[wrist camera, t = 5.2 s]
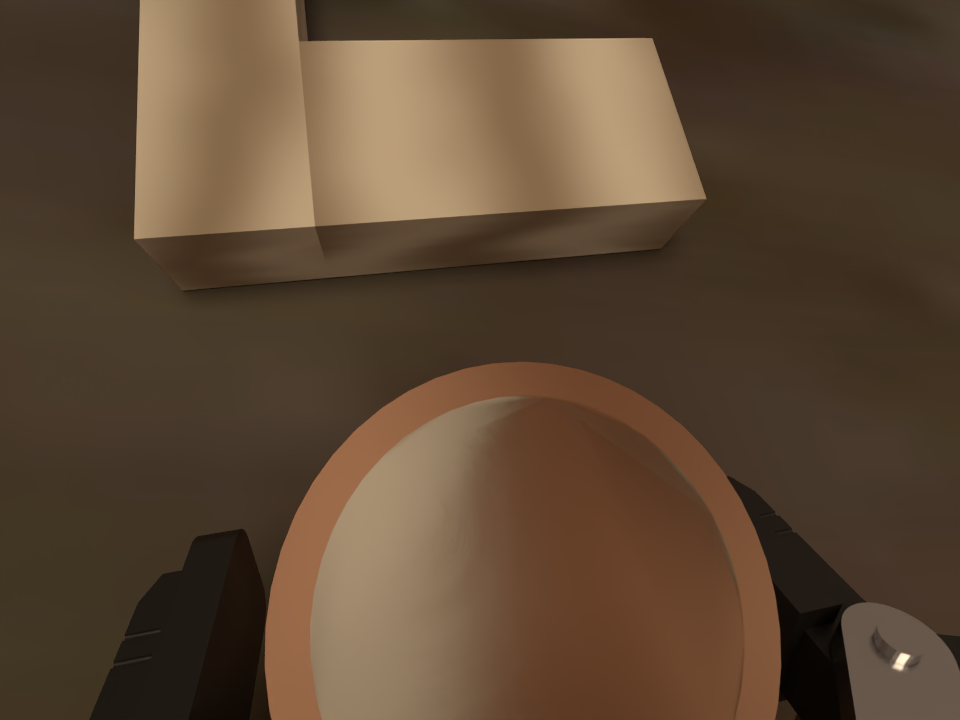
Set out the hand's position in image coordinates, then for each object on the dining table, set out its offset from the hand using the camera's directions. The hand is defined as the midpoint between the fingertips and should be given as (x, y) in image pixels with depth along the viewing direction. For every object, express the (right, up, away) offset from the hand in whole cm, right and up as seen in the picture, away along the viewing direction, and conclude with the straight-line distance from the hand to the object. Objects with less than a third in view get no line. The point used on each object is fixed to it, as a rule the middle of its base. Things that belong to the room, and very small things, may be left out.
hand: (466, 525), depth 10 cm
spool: (0, -2, +4) cm, 5 cm away
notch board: (-3, +16, +10) cm, 19 cm away
